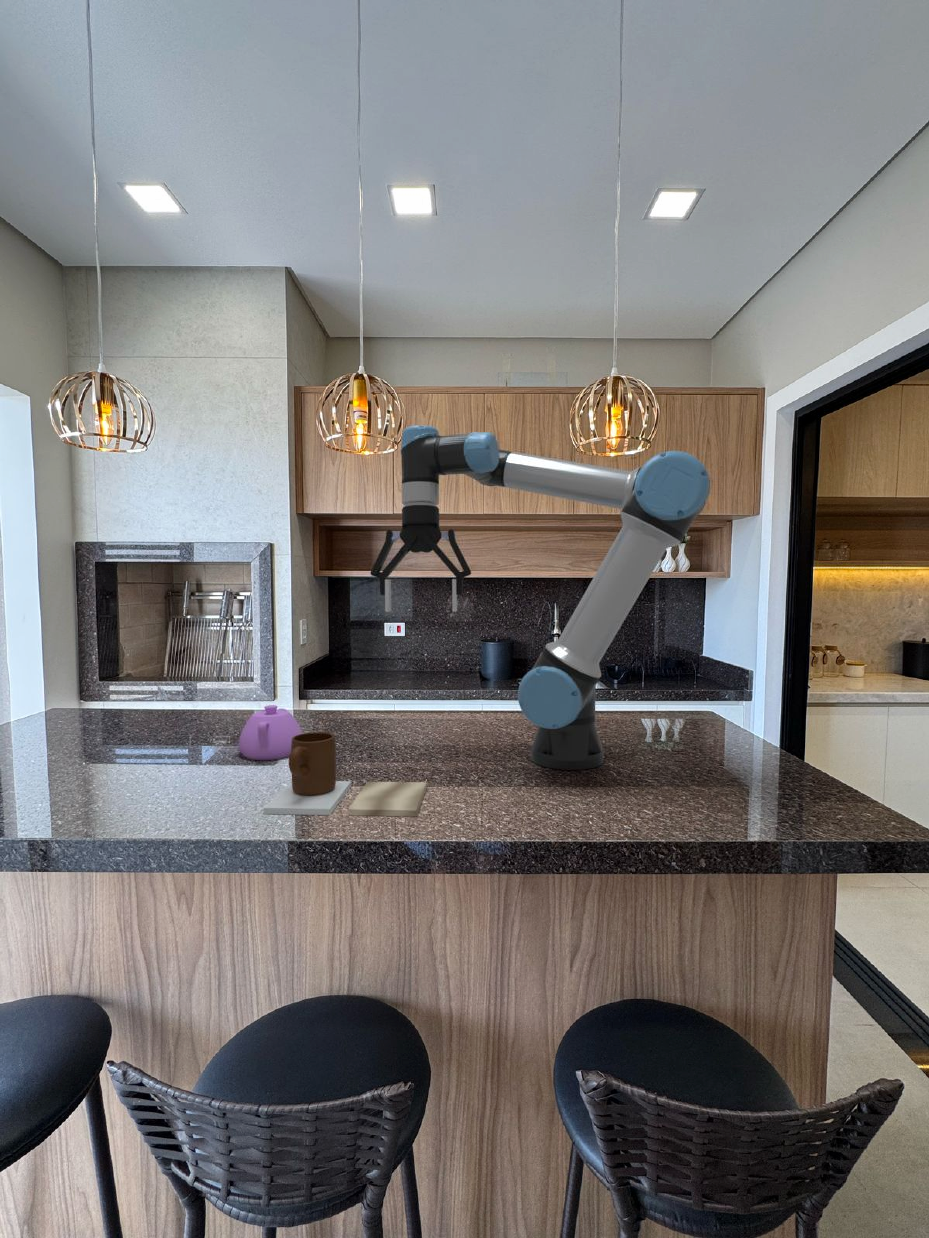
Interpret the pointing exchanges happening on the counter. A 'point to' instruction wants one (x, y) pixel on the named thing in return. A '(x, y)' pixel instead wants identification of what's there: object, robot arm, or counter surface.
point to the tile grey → (307, 801)
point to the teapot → (268, 734)
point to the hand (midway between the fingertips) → (421, 611)
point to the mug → (313, 763)
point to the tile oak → (389, 799)
